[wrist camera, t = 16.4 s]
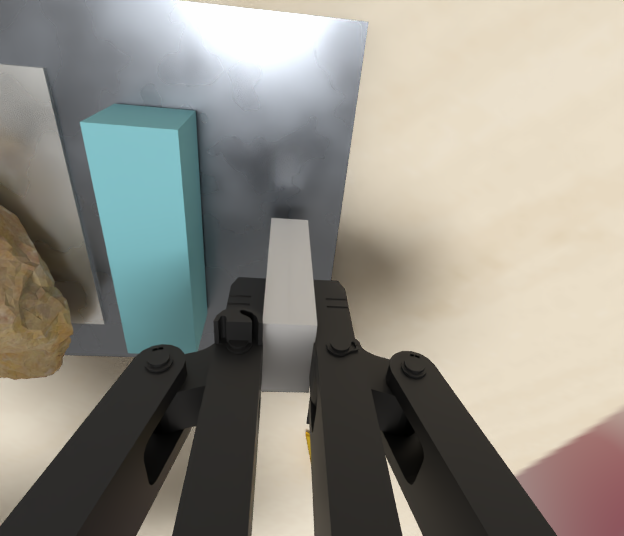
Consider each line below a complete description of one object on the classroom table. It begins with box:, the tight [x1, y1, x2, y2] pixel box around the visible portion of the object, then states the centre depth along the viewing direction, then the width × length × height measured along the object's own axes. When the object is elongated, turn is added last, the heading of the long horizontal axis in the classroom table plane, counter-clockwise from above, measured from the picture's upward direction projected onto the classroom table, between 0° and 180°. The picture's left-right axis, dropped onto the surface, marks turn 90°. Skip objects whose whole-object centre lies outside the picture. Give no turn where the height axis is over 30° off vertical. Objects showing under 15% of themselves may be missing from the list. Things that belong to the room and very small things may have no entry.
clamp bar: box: [80, 104, 207, 354], centre depth 17 cm, size 3×10×3 cm, turn 174°
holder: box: [0, 0, 368, 357], centre depth 18 cm, size 24×17×1 cm
